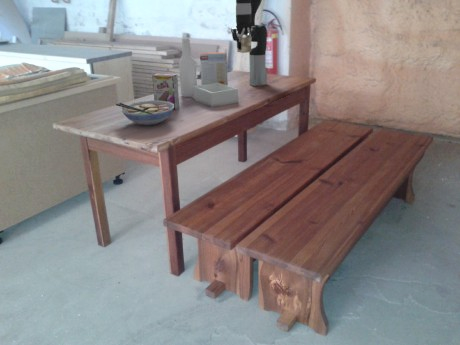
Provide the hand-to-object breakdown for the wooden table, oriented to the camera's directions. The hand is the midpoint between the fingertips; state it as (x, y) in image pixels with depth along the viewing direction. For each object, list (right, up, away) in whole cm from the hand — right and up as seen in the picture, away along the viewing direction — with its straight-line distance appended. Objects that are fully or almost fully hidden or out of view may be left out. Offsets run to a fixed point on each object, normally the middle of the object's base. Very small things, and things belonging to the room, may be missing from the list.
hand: (244, 48), depth 227 cm
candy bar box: (-37, -31, -7) cm, 49 cm away
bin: (-14, -25, +4) cm, 30 cm away
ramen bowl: (-42, -41, -29) cm, 65 cm away
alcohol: (-29, -21, +17) cm, 39 cm away
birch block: (0, -1, +1) cm, 1 cm away
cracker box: (-15, -17, +25) cm, 34 cm away
